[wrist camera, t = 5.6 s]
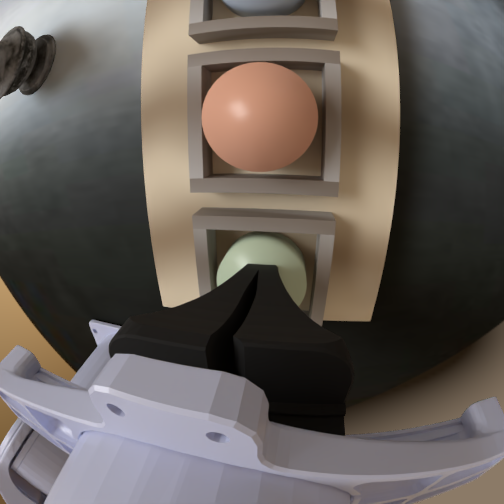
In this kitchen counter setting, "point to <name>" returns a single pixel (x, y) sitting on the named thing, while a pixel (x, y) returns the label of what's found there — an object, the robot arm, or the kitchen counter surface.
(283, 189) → the button panel
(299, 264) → the green button
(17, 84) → the grey chess piece
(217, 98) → the terracotta button
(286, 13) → the blue button
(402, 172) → the kitchen counter surface
